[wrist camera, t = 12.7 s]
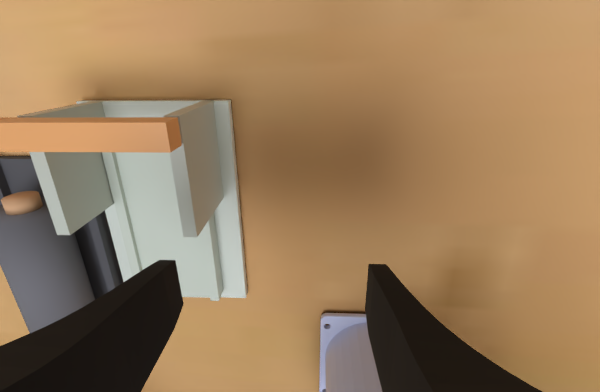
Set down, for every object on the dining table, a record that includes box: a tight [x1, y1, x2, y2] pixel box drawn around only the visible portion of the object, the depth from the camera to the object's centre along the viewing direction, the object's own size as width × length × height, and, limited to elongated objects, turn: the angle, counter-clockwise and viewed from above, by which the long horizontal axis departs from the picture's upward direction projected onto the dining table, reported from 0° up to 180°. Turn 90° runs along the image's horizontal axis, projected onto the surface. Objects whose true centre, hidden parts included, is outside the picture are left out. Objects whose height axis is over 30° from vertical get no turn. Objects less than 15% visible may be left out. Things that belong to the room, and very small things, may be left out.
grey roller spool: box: [0, 191, 95, 333], centre depth 22 cm, size 11×4×4 cm, turn 1°
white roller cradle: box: [17, 100, 248, 301], centre depth 20 cm, size 14×9×6 cm, turn 1°
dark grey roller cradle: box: [0, 156, 123, 300], centre depth 23 cm, size 12×6×1 cm, turn 1°
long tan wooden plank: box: [0, 117, 182, 153], centre depth 14 cm, size 1×9×1 cm, turn 91°
